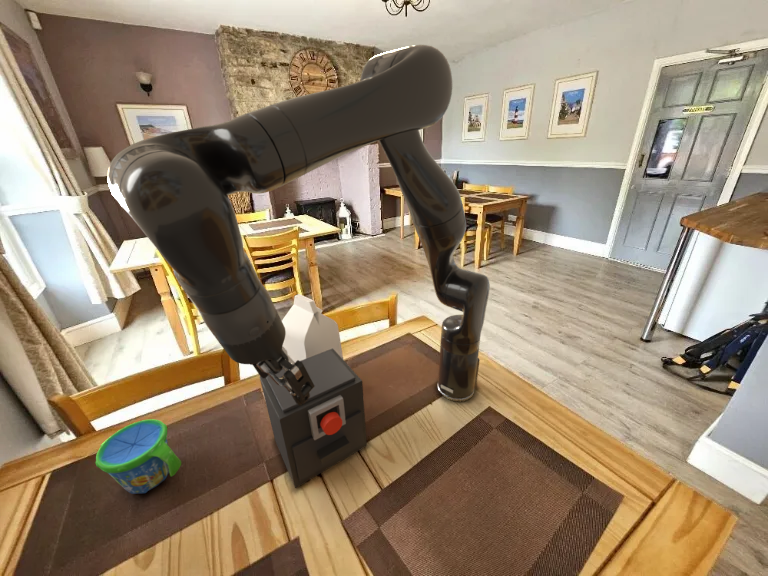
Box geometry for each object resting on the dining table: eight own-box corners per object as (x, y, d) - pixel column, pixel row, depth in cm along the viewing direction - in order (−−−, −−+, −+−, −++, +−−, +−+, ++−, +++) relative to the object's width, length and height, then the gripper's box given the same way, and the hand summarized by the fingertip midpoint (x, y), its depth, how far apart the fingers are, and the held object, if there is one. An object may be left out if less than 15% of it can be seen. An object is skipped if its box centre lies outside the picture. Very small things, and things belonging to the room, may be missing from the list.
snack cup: (202, 463, 64) (188, 428, 60) (154, 516, 55) (134, 479, 51) (147, 444, 69) (130, 410, 64) (94, 491, 59) (70, 455, 55)
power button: (339, 422, 58) (337, 408, 56) (343, 428, 56) (341, 414, 55) (321, 432, 56) (319, 417, 54) (325, 438, 55) (323, 423, 53)
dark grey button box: (339, 408, 77) (332, 345, 69) (373, 454, 65) (369, 385, 57) (274, 440, 69) (258, 374, 61) (300, 500, 57) (283, 427, 49)
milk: (286, 384, 85) (269, 299, 74) (319, 363, 93) (308, 284, 82) (313, 405, 78) (298, 315, 67) (346, 380, 86) (338, 296, 75)
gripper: (306, 320, 37) (334, 389, 48) (235, 281, 43) (274, 349, 54) (255, 367, 32) (298, 431, 43) (185, 315, 39) (238, 382, 50)
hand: (284, 385), depth 49 cm, fingers open, 8 cm apart
